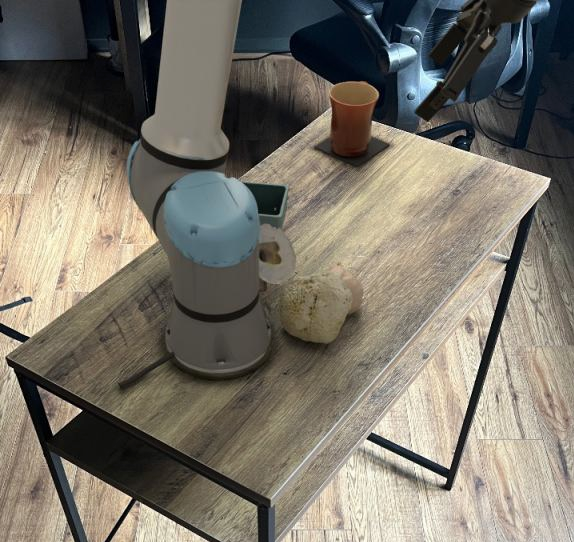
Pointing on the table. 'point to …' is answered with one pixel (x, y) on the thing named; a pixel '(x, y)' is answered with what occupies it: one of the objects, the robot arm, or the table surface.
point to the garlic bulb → (350, 286)
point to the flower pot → (270, 202)
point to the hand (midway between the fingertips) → (428, 87)
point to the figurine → (274, 257)
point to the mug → (351, 117)
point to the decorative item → (315, 306)
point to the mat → (373, 149)
